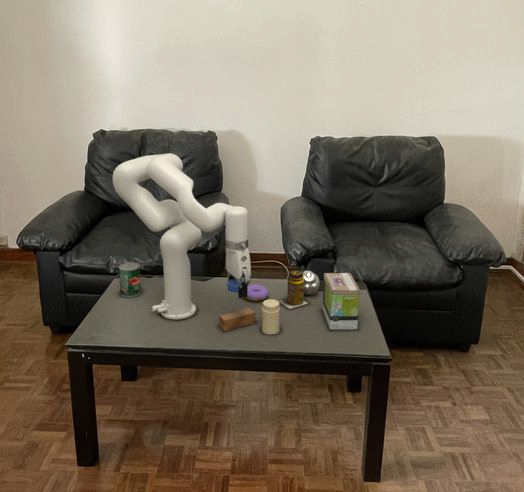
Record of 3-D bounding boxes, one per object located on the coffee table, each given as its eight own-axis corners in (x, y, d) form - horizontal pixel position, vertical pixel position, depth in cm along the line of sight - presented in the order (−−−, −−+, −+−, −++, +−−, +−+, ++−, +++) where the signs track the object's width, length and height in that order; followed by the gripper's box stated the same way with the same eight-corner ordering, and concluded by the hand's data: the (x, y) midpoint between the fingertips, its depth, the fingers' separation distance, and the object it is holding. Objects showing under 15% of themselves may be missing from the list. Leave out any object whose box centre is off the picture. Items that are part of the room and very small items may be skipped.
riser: (224, 331, 185) (224, 320, 184) (219, 326, 189) (219, 315, 188) (255, 322, 191) (255, 312, 190) (249, 317, 195) (249, 307, 194)
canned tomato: (139, 297, 210) (137, 270, 208) (118, 297, 210) (116, 270, 207) (142, 288, 218) (141, 262, 215) (122, 288, 218) (121, 262, 215)
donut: (237, 296, 210) (238, 284, 210) (253, 293, 217) (255, 281, 217) (256, 304, 203) (258, 292, 203) (272, 301, 210) (274, 289, 210)
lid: (245, 284, 191) (245, 277, 190) (248, 292, 184) (249, 285, 184) (226, 285, 189) (226, 278, 189) (228, 293, 183) (228, 287, 182)
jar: (267, 336, 182) (268, 308, 180) (258, 328, 187) (258, 301, 185) (282, 331, 185) (283, 304, 183) (273, 323, 190) (273, 297, 188)
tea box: (358, 329, 187) (360, 289, 184) (329, 330, 186) (330, 290, 183) (348, 309, 202) (350, 271, 198) (321, 309, 201) (322, 272, 197)
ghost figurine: (292, 296, 211) (292, 272, 209) (302, 287, 219) (303, 263, 217) (313, 301, 207) (314, 277, 205) (323, 292, 215) (324, 268, 213)
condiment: (308, 303, 206) (309, 273, 203) (289, 309, 201) (290, 278, 198) (296, 296, 212) (297, 267, 209) (278, 301, 207) (278, 272, 204)
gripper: (260, 249, 178) (260, 300, 182) (234, 234, 192) (235, 281, 196) (239, 254, 174) (240, 305, 178) (215, 238, 189) (216, 286, 193)
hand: (237, 292), depth 187 cm, fingers closed on lid, 6 cm apart
